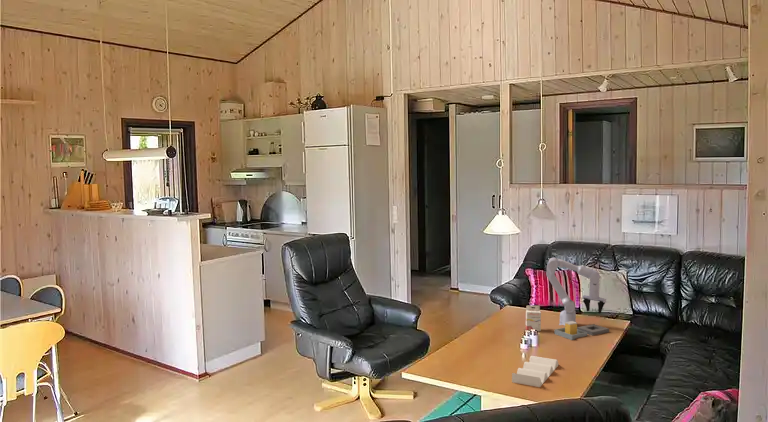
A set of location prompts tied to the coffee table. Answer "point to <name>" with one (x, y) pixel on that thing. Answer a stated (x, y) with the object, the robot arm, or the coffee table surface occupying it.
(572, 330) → the block
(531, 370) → the file organizer
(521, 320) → the coffee table surface
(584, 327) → the block
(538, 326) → the ink cartridge box
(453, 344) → the coffee table surface
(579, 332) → the parts tray
